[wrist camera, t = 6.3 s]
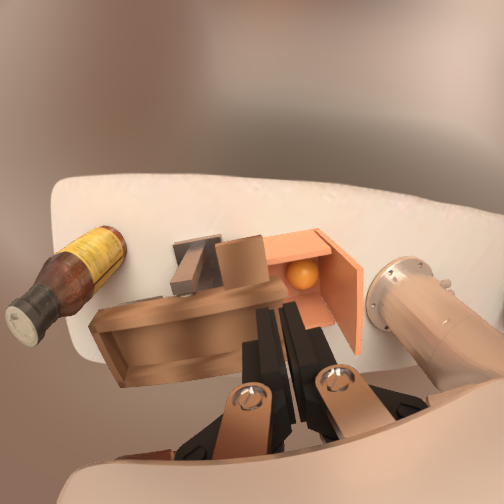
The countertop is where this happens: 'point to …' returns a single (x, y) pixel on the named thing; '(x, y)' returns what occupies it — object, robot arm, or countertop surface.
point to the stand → (196, 265)
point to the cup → (321, 282)
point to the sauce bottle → (66, 283)
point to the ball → (302, 273)
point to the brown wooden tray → (192, 323)
